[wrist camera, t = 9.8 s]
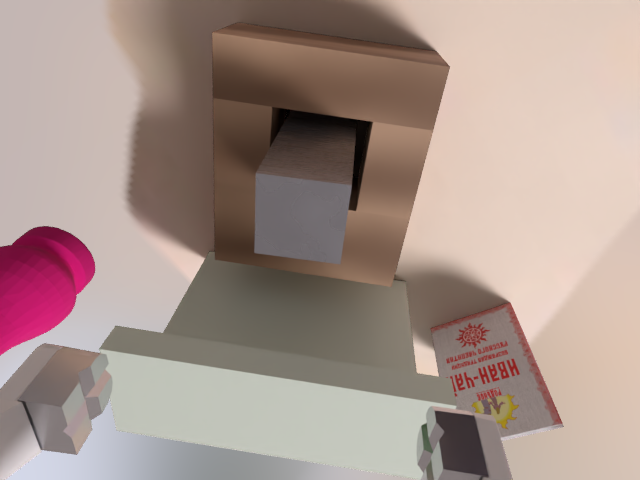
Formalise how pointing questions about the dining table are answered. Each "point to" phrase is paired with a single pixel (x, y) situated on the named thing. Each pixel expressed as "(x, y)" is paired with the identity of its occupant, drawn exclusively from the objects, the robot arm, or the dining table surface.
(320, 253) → the peg
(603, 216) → the dining table surface
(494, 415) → the tea bag
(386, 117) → the socket
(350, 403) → the pale green stepped block
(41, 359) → the robot arm
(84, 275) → the pepper mill
